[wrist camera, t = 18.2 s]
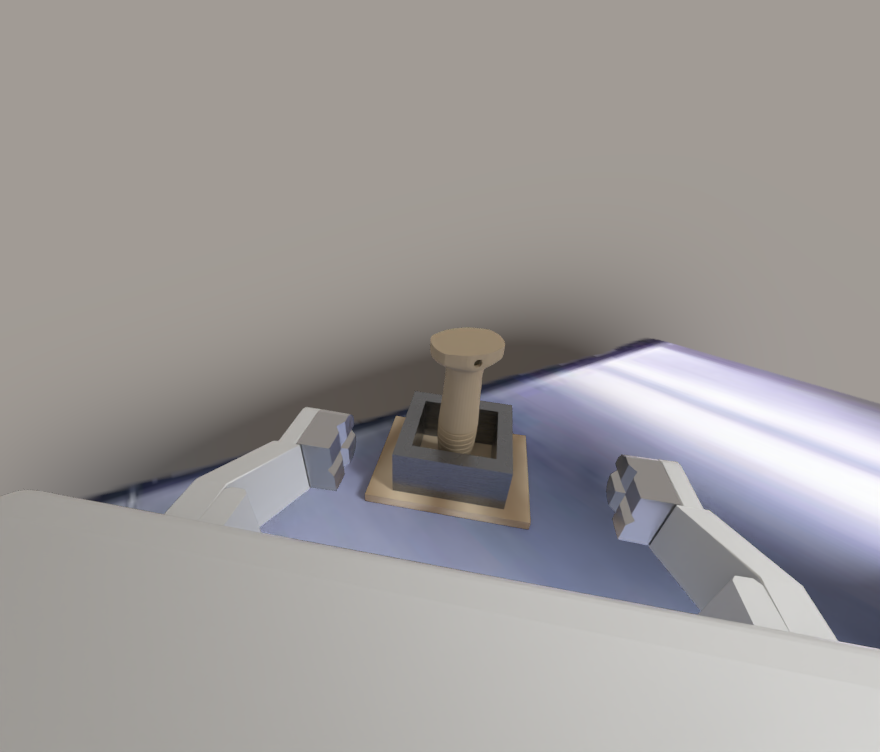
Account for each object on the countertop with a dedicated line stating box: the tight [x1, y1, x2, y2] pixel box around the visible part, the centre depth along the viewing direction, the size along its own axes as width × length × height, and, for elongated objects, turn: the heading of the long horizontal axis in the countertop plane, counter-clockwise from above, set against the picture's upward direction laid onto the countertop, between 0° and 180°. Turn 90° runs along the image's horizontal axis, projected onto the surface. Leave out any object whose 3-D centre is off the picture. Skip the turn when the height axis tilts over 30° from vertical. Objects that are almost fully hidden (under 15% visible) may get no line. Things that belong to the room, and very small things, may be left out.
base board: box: [365, 416, 531, 529], centre depth 40 cm, size 16×12×1 cm
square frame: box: [392, 391, 513, 509], centre depth 38 cm, size 11×10×5 cm
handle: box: [430, 328, 505, 455], centre depth 36 cm, size 5×6×15 cm
